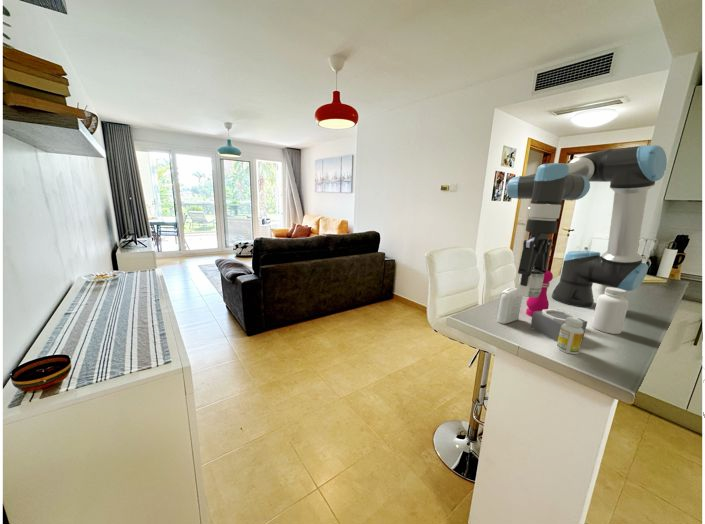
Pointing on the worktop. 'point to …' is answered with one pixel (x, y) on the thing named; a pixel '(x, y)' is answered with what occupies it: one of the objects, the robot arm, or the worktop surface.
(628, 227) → the robot arm
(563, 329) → the supplement bottle
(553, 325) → the grey block with ring
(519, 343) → the worktop surface
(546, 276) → the pepper mill
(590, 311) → the worktop surface
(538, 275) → the camera lens
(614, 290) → the pill bottle
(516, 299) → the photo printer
